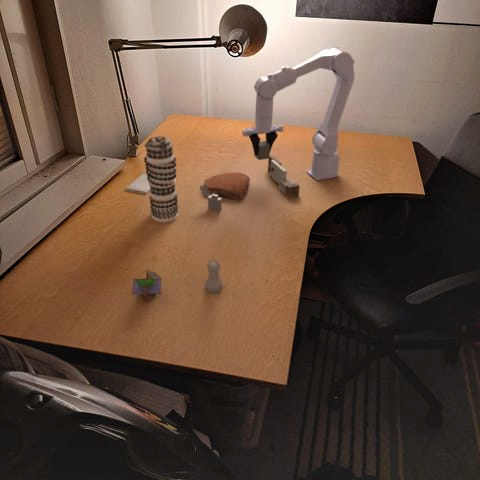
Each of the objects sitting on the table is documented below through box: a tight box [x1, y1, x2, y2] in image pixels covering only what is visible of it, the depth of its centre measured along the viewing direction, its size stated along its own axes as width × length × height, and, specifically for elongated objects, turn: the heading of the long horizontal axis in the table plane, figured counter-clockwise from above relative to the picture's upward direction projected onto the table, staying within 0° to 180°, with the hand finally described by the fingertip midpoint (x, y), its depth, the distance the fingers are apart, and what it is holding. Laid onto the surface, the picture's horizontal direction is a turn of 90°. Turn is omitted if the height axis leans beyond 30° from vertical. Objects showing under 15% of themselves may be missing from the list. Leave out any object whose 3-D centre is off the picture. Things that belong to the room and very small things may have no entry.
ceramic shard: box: [203, 172, 250, 201], centre depth 157 cm, size 15×6×15 cm
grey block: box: [253, 140, 271, 161], centre depth 157 cm, size 4×4×5 cm
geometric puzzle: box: [131, 269, 162, 303], centre depth 108 cm, size 7×7×8 cm
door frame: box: [267, 155, 300, 199], centre depth 160 cm, size 4×22×6 cm, turn 23°
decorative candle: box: [143, 136, 179, 223], centre depth 135 cm, size 9×9×25 cm
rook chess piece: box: [204, 259, 224, 294], centre depth 110 cm, size 4×4×8 cm
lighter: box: [199, 183, 222, 213], centre depth 144 cm, size 7×2×8 cm, turn 64°
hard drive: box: [125, 172, 150, 195], centre depth 159 cm, size 2×8×12 cm
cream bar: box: [269, 160, 288, 185], centre depth 160 cm, size 2×10×6 cm, turn 23°
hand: (261, 153), depth 158 cm, fingers closed on grey block, 4 cm apart
